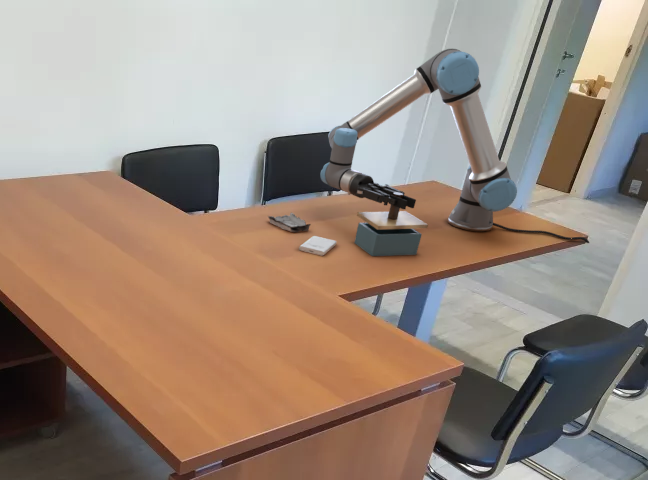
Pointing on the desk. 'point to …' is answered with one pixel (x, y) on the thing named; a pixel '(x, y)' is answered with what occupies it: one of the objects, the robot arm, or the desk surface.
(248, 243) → the desk surface
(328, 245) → the hard drive
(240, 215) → the desk surface
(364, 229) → the toy box
